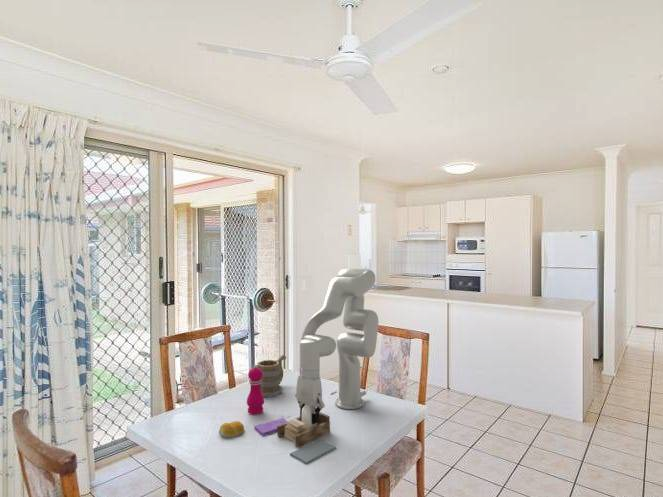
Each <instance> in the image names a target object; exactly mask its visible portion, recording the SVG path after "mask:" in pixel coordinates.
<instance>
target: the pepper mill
mask: <svg viewBox="0 0 663 497" xmlns="http://www.w3.org/2000/svg"><path fill="white" fill-rule="evenodd" d="M257 367H258V366H257V364H254V365H253V366H252V368H251V369H249V371H248V378H249V384H250V390H249V394H248V396H247V399H246V405H247V406H248V408H247V413H248V415H252V416H253V415H261V414H262V413H263V412H264V407H263V405H264V403H265V397H263V395H262V392H261V389H260V384H261V383H262V382H261V378H262V376H263V372H262V370H261V369H259V368H257Z"/></svg>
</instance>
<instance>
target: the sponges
mask: <svg viewBox="0 0 663 497" xmlns="http://www.w3.org/2000/svg"><path fill="white" fill-rule="evenodd" d="M287 421H288V420H286V418H285V417H281V418H278V419H274V420H271V421H267V422H264V423H260V424H256V425H254V430H255V431H256V432H257V433H259V435H260V436H262V437H264V436H267V435H270V434H273V433H277V426H278V425H280V424H283V423H285V422H287Z"/></svg>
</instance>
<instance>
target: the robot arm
mask: <svg viewBox="0 0 663 497" xmlns="http://www.w3.org/2000/svg"><path fill="white" fill-rule="evenodd" d="M337 274H338V276H336V277H333V278H332V279H331V281H330V282H329V285H328V288H327V290H326V295H325V297H324V301H323V303H322V306H321V308H320V310H319V311H317V312H316V313H315V314H313V315H312V317H310V318H309V320H307V322H306V323H305V326H304V329H303V332H302V335H301V338H300V343H299V374H298V376H297V381H296V388H295V389H296V392H295V398H296V400H297V403H298V407H299V410H300V411H299V417H300V418H301V419H302V408H303V407H304V406H305V404H306V405H308V406H311V407H312V410H313V413H312V424H315V423H317V422H319V412H321V411H322V409H323V408H325V406H326V405H325V403H324V401H323V389H322V387H323V386H322V380H321V377H320V372H321V371H320V369H321V368H320V364H321V363H320V362H321V361H320V358H323V357H329V356H331V355H332V354H333V353H335V351H336V349H337V354H338V398H336V399H335V402H334V403H335V406H336V407H338V408H340V409H343V410H357V409H360V408H363V406H364V404H365V401H364V400H363V399H362V398H363V396H366V395H367V391H366V390H361V362H360V358H358V357H361V358H366V359H367V358H372V357H374V355H375V352H376V350H377V343H378V342H377V340H378V331H379V315H378V314H377V312H375V310H371V309H365V294H366V293H367V292H369V291H370V290H371V289H372V288H373V287H374V286H375V283H376V275H375V273H374V271H373V270H371V269H367V268H365V269H364V268H361V269H360V268H343V269H341V270H340V271H338V273H337ZM342 314H343V319H342V320H343V321H342V322H343V323H342V324H343V326H344V328H346V329H349V330H353V331H360V332H363V334H361V333H357V332H347V331H346V332H342V333H340V334H339V335H338V337H337V338H336V340H335V339H334V338H333V337H331V336H329V335H321V334H316V332H317V330H318V329H319V328H320V327H321V326H322V325H323V324H325V323H328V322H330V321H333V320H336V319H339V318H340V317H341V316H342ZM315 406H316V407H317V408H316V409H315Z"/></svg>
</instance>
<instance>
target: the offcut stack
mask: <svg viewBox="0 0 663 497" xmlns="http://www.w3.org/2000/svg"><path fill="white" fill-rule="evenodd" d="M304 431H306V428H305V424H304V423H302V422H300V421H299V420H297V419H295V418H294V419H291V420H287V426H285V435H284V437H285V438H287V439H288V440H290V441H292V442H294V443H296V435H297V434H299V433H301V432H304Z"/></svg>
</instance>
